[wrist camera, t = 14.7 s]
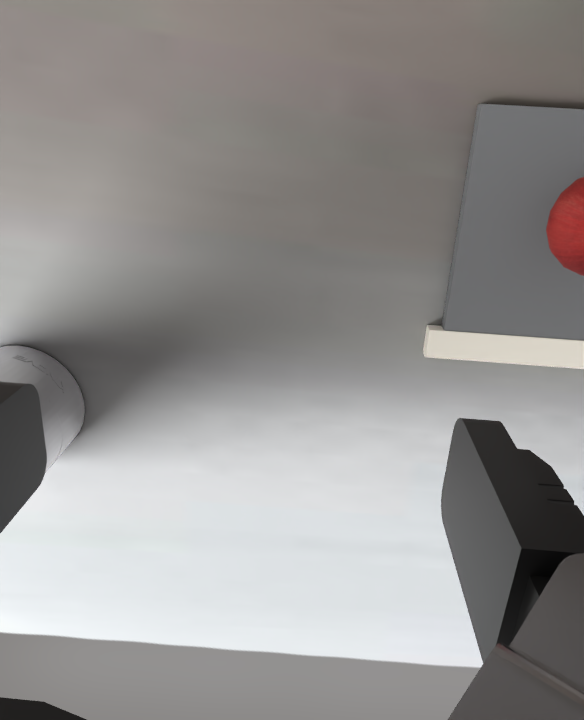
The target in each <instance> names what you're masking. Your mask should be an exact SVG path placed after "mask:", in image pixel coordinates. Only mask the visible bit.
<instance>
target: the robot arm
mask: <svg viewBox="0 0 584 720" xmlns="http://www.w3.org/2000/svg"><path fill="white" fill-rule="evenodd" d="M84 415H85V407H84V399H83V396H82V393H81V390H80V388H79V386H78V384H77V382H76V381H75V379H74V377H73V376H72V375H71V374H70V373H69V371H68V370H67V369H66V368H65V367H64V366H63V365H62V364H60V363H59V362H58V361H57V360H56V359H54V358H52V357H51V356H49V355H47V354H45V353H44V352H41V351H39V350H36V349H33V348H30V347H24V346H18V345H17V346H3V347H0V533H1V532H2V531H3V529H4V528H5V527H6V526H7V525H8V523H9V522H10V521H11V520H12V519H13V517H14V516H15V515H16V514H17V512H18V511H19V510H20V509H21V508H22V506H23V505H24V504H25V503H26V502H27V500H28V499H29V498H30V497H31V496H32V494H33V493H34V492H35V491H36V490H37V488H38V487H39V486H40V484H41V482H42V480H43V477H44V474H45V473H46V471H47V470H48V469H49V468H50V467H51V466H52V465H53V463H54V462H55V461H56V460H57V459H58V457H59V456H60V455H61V454H62V453H63V451H64V450H65V449H66V448H67V447H68V445H69V444H70V443H71V442H72V441H73V439H74V438H75V437H76V436H77V434H78V433H79V432H80V429H81V427H82V425H83V422H84ZM441 511H442V520H443V524H444V528H445V531H446V535H447V538H448V542H449V545H450V549H451V552H452V556H453V559H454V563H455V566H456V570H457V573H458V577H459V580H460V584H461V587H462V591H463V594H464V598H465V601H466V605H467V608H468V612H469V615H470V619H471V622H472V625H473V629H474V632H475V636H476V639H477V643H478V646H479V650H480V653H481V657H482V660H483V665H482V667H481V668H480V670H479V671H478V673H477V675H476V676H475V678H474V679H473V681H472V682H471V684H470V686H469V687H468V689H467V690H466V692H465V693H464V695H463V696H462V698H461V700H460V701H459V703H458V704H457V706H456V707H455V709H454V711H453V712H452V714H451V715H450V717H449V718H448V720H584V516H583V514H582V513H581V511H580V509H579V508H578V506H577V505H574V500H573V499H572V497H571V496H570V494H569V493H568V491H567V490H566V489H564V485H563V484H562V482H561V481H560V479H559V478H558V476H557V475H556V473H555V472H554V470H553V469H552V467H551V466H550V465H548V464H547V463H546V462H544V461H543V460H542V459H540V458H539V457H538V456H536V455H535V454H534V453H532V452H531V451H530V450H523V449H517V448H516V446H515V444H514V443H513V441H512V439H511V437H510V436H509V434H508V432H507V431H506V429H505V427H504V426H503V424H502V423H501V422H500V421H489V420H476V419H463V418H459V419H458V420H457V421H456V423H455V426H454V430H453V435H452V440H451V445H450V451H449V456H448V461H447V467H446V472H445V477H444V483H443V488H442V498H441ZM0 720H86V719H84V718H81V717H79V716H77V715H74V714H72V713H69V712H67V711H64V710H62V709H60V708H57V707H55V706H52V705H50V704H47V703H45V702H40V701H30V700H20V699H9V698H0Z"/></svg>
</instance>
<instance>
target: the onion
mask: <svg viewBox="0 0 584 720" xmlns="http://www.w3.org/2000/svg"><path fill="white" fill-rule="evenodd" d="M546 232H547V238H548V243H549V248H550V250H551V252H552V254H553V255H554V256H555V257H556V258H557V259H558V261H559V262H560V263H561V264H562V265H563V267H565V268H567V269H569V270H571V271H573V272H575V273H577V274H579V275H582V276H584V177H582V178H579V179H577V180H576V181H574V182H573V183H572V184H571V185H570V186H569V187H567V188H566V189H565V190H564V191H563V192H562V193H561V194H560V196H559V197H558V199H557V201H556V202H555V204H554V206H553V207H552V209H551V210H550V214H549V219H548V223H547V228H546Z"/></svg>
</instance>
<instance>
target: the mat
mask: <svg viewBox="0 0 584 720" xmlns="http://www.w3.org/2000/svg"><path fill="white" fill-rule="evenodd" d="M582 177H584V109H568V108H550V107H533V106H515V105H497V104H478V106H477V112H476V119H475V125H474V131H473V137H472V143H471V149H470V155H469V161H468V167H467V173H466V179H465V186H464V192H463V198H462V204H461V210H460V216H459V222H458V228H457V234H456V240H455V246H454V253H453V259H452V265H451V271H450V277H449V283H448V289H447V295H446V301H445V307H444V313H443V320H442V326H436V325H427V328H426V334H425V341H424V347H423V353H424V355H425V357H427V358H441V359H455V360H468V361H482V362H495V363H509V364H522V365H536V366H549V367H563V368H576V369H584V276H582V275H579V274H577V273H575V272H573V271H571V270H569V269H567V268H565V267H563V265H562V264H561V263H560V262H559V261H558V259H557V258H556V257H555V256H554V255H553V254H552V252H551V250H550V248H549V243H548V238H547V232H546V228H547V223H548V219H549V214H550V210H551V209H552V207H553V206H554V204H555V202H556V201H557V199H558V197H559V196H560V194H561V193H562V192H563V191H564V190H565V189H566V188H567V187H569V186H570V185H571V184H572V183H573V182H574V181H576V180H577V179H579V178H582Z"/></svg>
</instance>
